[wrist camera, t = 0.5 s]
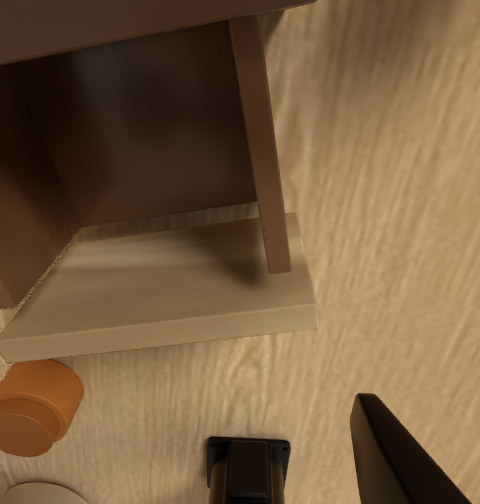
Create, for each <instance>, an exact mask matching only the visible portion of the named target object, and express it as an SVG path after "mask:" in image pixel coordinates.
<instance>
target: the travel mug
mask: <svg viewBox="0 0 480 504" xmlns="http://www.w3.org/2000/svg"><path fill="white" fill-rule="evenodd" d="M0 504H87V502H86V501H85V500H84V499H83V498H81V497H80V496H79V495H78V494H76V493H75V492H73V491H72V490H70V489H68V488H65V487H63V486H60V485H57V484H51V483H45V482H34V483H24V484H19V485H16V486H14V487H12V488H10V489H8V490H7V491H6V492H5V494H4V496H3V498H2V500H1V502H0Z"/></svg>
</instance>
